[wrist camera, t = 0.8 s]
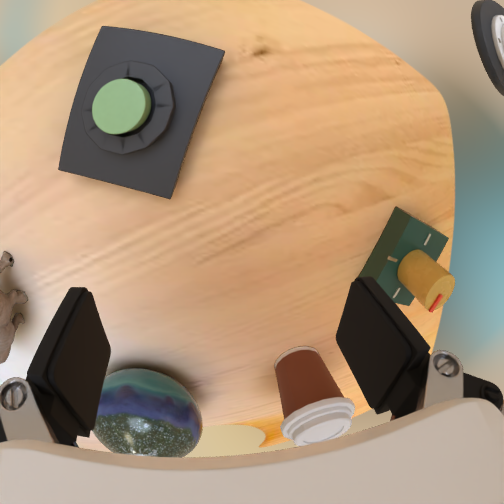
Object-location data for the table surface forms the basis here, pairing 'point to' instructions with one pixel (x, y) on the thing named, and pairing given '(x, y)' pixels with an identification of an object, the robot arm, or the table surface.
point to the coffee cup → (310, 398)
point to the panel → (401, 252)
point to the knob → (425, 279)
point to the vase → (147, 415)
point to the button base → (161, 115)
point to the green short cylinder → (121, 106)
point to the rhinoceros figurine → (8, 313)
